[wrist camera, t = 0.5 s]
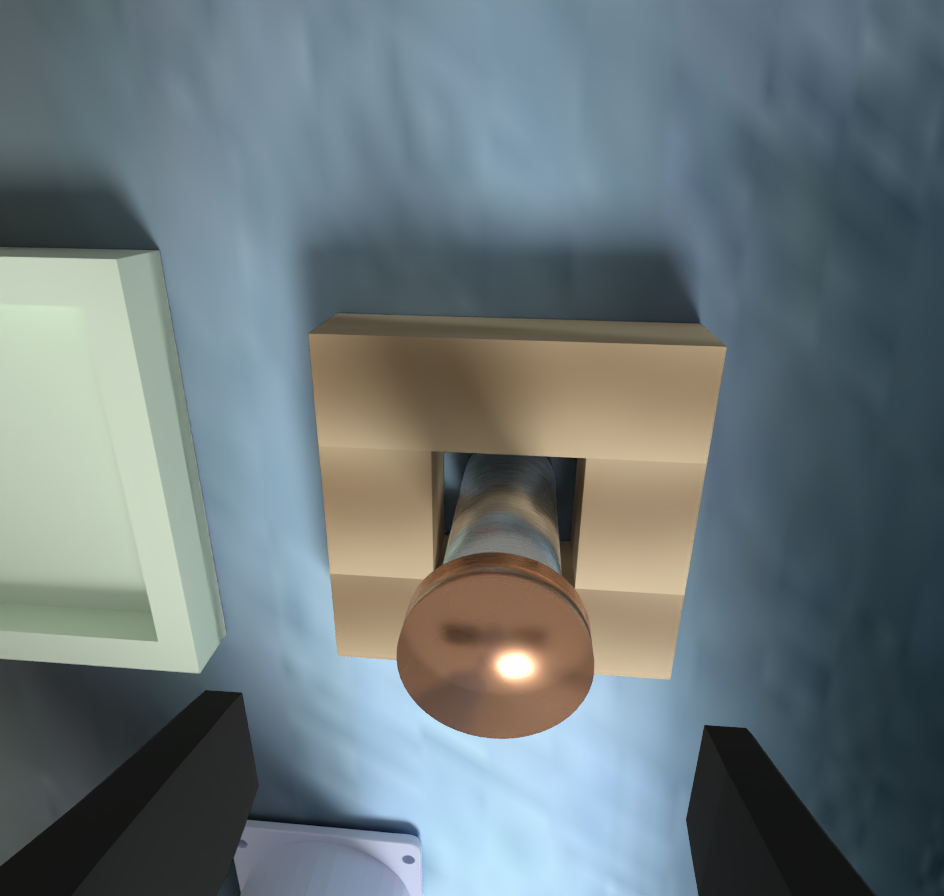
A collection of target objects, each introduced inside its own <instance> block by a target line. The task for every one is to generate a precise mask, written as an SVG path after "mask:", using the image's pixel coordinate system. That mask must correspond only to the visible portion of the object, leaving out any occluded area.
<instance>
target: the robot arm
mask: <svg viewBox="0 0 944 896" xmlns="http://www.w3.org/2000/svg"><path fill="white" fill-rule="evenodd" d="M257 788H258V779H257V774H256V768H255V762H254V757H253V751H252V746H251V740H250V734H249V729H248V723H247V717H246V712H245V706H244V701H243V695H242V693H237V692H223V691H208V690H205V691H204V692H203V693H202V694H201V695H200V696H199V697H197V698H196V699H195V700H194V701H193V702H192V703H190V704H189V705H188V706H187V707H186V708H185V709H184V710H182V711H181V712H180V713H179V714H178V715H177V716H176V717H175V718H174V719H172V720H171V721H170V722H169V723H168V724H167V725H166V726H165V727H163V728H162V729H161V730H160V731H159V732H158V733H157V734H156V735H155V736H153V737H152V738H151V739H150V740H149V741H148V742H147V743H146V744H145V745H143V746H142V747H141V748H140V749H139V750H138V751H137V752H136V753H135V754H133V755H132V756H131V757H130V758H129V759H128V760H127V761H126V762H124V763H123V764H122V765H121V766H120V767H119V768H118V769H116V770H115V771H114V772H113V773H112V774H111V775H110V776H108V777H107V778H106V779H105V780H104V781H103V782H101V783H100V784H99V785H98V786H97V787H96V788H95V789H93V790H92V791H91V792H90V793H89V794H88V795H86V796H85V797H84V798H83V799H82V800H81V801H80V802H78V803H77V804H76V805H75V806H74V807H73V808H71V809H70V810H69V811H68V812H67V813H65V814H64V815H63V816H62V817H61V818H59V819H58V820H57V821H56V822H54V823H53V824H52V825H51V826H50V827H48V828H47V829H46V830H45V831H43V832H42V833H41V834H40V835H38V836H37V837H36V838H35V839H34V840H32V841H31V842H30V843H29V844H27V845H26V846H25V847H24V848H22V849H21V850H20V851H19V852H18V853H16V854H15V855H14V856H13V857H11V858H10V859H9V860H8V861H6V862H5V863H4V864H3V865H1V866H0V896H217V893H218V891H219V889H220V887H221V885H222V882H223V880H224V878H225V876H226V874H227V871H228V869H229V867H230V865H231V862H232V860H233V858H234V862H235V867H236V872H237V876H238V881H239V886H240V891H241V895H240V896H423V870H422V844H421V841H420V840H419V839H418V838H417V837H416V836H414V835H409V834H398V833H387V832H377V831H366V830H355V829H344V828H333V827H322V826H311V825H300V824H290V823H279V822H268V821H257V820H247V819H248V816H249V813H250V810H251V807H252V803H253V800H254V797H255V794H256V791H257ZM686 822H687V828H688V835H689V841H690V847H691V854H692V860H693V866H694V872H695V878H696V883H697V889H698V895H699V896H876V895H875V893H874V892H873V891H872V890H871V889H870V887H869V886H868V885H867V884H866V882H865V881H864V880H863V879H862V877H861V876H860V875H859V874H858V873H857V871H856V870H855V869H854V868H853V866H852V865H851V864H850V863H849V861H848V860H847V859H846V858H845V856H844V855H843V854H842V853H841V851H840V850H839V849H838V848H837V846H836V845H835V844H834V843H833V841H832V840H831V839H830V838H829V836H828V835H827V834H826V833H825V831H824V830H823V829H822V827H821V826H820V825H819V824H818V822H817V821H816V820H815V818H814V817H813V816H812V815H811V813H810V812H809V811H808V809H807V808H806V807H805V805H804V804H803V803H802V801H801V800H800V799H799V797H798V796H797V795H796V793H795V792H794V791H793V789H792V788H791V787H790V785H789V784H788V783H787V781H786V780H785V779H784V777H783V776H782V775H781V773H780V772H779V771H778V769H777V768H776V766H775V765H774V764H773V762H772V761H771V760H770V758H769V757H768V755H767V754H766V753H765V751H764V750H763V749H762V747H761V746H760V745H759V743H758V742H757V740H756V739H755V738H754V736H753V735H752V734H751V733H750V732H749V731H748V729H747V728H738V727H723V726H709V725H704V730H703V736H702V741H701V746H700V751H699V756H698V761H697V767H696V772H695V777H694V782H693V787H692V792H691V797H690V803H689V808H688V813H687V818H686Z"/></svg>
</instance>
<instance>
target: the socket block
mask: <svg viewBox="0 0 944 896" xmlns="http://www.w3.org/2000/svg"><path fill="white" fill-rule="evenodd" d="M308 336H309V347H310V358H311V369H312V380H313V391H314V402H315V413H316V424H317V435H318V446H319V457H320V468H321V478H322V489H323V500H324V511H325V522H326V533H327V544H328V555H329V566H330V577H331V588H332V599H333V610H334V621H335V631H336V642H337V653H338V656H347V657H361V658H375V659H389V660H397V659H396V657H397V645H398V640H399V636H400V633H401V629H402V626H403V622H404V619H405V615H406V612H407V608H408V605H409V603H410V600H411V597H412V595H413V594H414V592H415V590H416V588H417V587H418V586H419V585H420V583H421V582H422V581H423V580H424V579H425V578H426V577H427V576H428V575H429V574H430V573H431V572H433V571H434V570H435V569H437V568H438V567H440V566H441V565H443V562H444V557H445V553H446V549H447V544H448V540H449V536H450V535H445V532H444V452H460V453H482V454H504V455H527V456H549V457H571V458H577V466H576V478H575V491H574V503H573V515H572V527H571V539H570V541H559V543H560V558H561V573H562V577H563V578H565V579H566V580H567V581H568V582H569V583H570V584H571V585H572V586H573V588H574V589H575V590H576V591H577V593H578V594H579V596H580V597H581V599H582V601H583V603H584V605H585V607H586V610H587V613H588V617H589V623H590V630H591V638H592V646H593V654H594V674H601V675H615V676H629V677H643V678H657V679H670V677H671V671H672V665H673V659H674V653H675V647H676V641H677V635H678V630H679V624H680V618H681V612H682V606H683V600H684V594H685V589H686V583H687V577H688V571H689V565H690V559H691V553H692V547H693V542H694V536H695V530H696V524H697V518H698V512H699V506H700V501H701V495H702V489H703V483H704V477H705V471H706V465H707V459H708V454H709V448H710V442H711V436H712V430H713V424H714V418H715V412H716V407H717V401H718V395H719V389H720V383H721V377H722V371H723V366H724V360H725V354H726V348H727V347H726V346H725V345H724V344H723V343H722V342H721V341H720V340H719V339H718V338H716V337H715V336H714V335H713V334H712V333H711V332H710V331H709V330H708V329H706V328H705V327H704V326H703V325H702V324H695V323H660V322H625V321H591V320H556V319H521V318H486V317H452V316H417V315H382V314H347V313H336V314H335V315H334V316H332V317H331V318H329V319H328V320H327V321H325V322H324V323H322V324H321V325H320V326H318V327H317V328H315V329H314V330H313V331H311V332H310V333H308Z"/></svg>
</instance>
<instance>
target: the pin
mask: <svg viewBox="0 0 944 896" xmlns="http://www.w3.org/2000/svg"><path fill="white" fill-rule="evenodd" d="M396 659H397V666H398V671H399V674H400V678H401V680H402V682H403V684H404V687H405V688H406V690H407V692H408V693H409V695H410V696H411V697H412V699H413V700H414V701H415V702H416V703H417V705H418V706H419V707H421V708H422V709H423V710H424V711H425V712H426V713H427V714H429V715H430V716H431V717H433V718H434V719H435V720H437V721H439V722H441V723H442V724H444V725H446V726H448V727H450V728H453V729H455V730H457V731H460V732H463V733H466V734H470V735H474V736H479V737H486V738H499V739H506V738H518V737H524V736H529V735H533V734H536V733H540V732H542V731H545V730H547V729H550V728H552V727H554V726H555V725H557V724H559V723H561V722H562V721H563V720H565V719H566V718H568V717H569V716H570V715H571V714H572V713H573V712H574V711H575V710H576V709H577V708H578V707H579V706H580V705H581V703H582V702H583V701H584V699H585V697H586V696H587V694H588V692H589V689H590V687H591V684H592V681H593V676H594V654H593V646H592V638H591V630H590V623H589V617H588V613H587V610H586V607H585V605H584V603H583V601H582V599H581V597H580V596H579V594H578V593H577V591H576V590H575V589H574V588H573V586H572V585H571V584H570V583H569V582H568V581H567V580H566V579H565V578H563V577H562V573H561V558H560V543H559V529H558V514H557V500H556V485H555V475H554V470H553V467H552V465H551V463H550V461H549V460H548V458H547V457H546V456H527V455H504V454H482V453H474V454H473V455H472V456H471V458H470V459H469V461H468V463H467V465H466V468H465V471H464V476H463V480H462V484H461V488H460V493H459V497H458V501H457V506H456V510H455V514H454V519H453V523H452V527H451V531H450V536H449V540H448V544H447V549H446V553H445V557H444V562H443V565H441V566H440V567H438V568H437V569H435V570H434V571H433V572H431V573H430V574H429V575H428V576H427V577H426V578H425V579H424V580H423V581H422V582H421V583H420V585H419V586H418V587H417V588H416V590H415V592H414V594H413V595H412V597H411V600H410V603H409V605H408V608H407V612H406V615H405V619H404V622H403V626H402V629H401V633H400V636H399V640H398V645H397V657H396Z"/></svg>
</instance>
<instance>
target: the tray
mask: <svg viewBox="0 0 944 896" xmlns="http://www.w3.org/2000/svg"><path fill="white" fill-rule="evenodd" d="M225 635H226V628H225V622H224V616H223V611H222V605H221V599H220V594H219V588H218V582H217V576H216V571H215V565H214V559H213V554H212V548H211V542H210V536H209V531H208V525H207V519H206V514H205V508H204V502H203V496H202V491H201V485H200V479H199V474H198V468H197V462H196V457H195V451H194V445H193V439H192V434H191V428H190V422H189V417H188V411H187V405H186V399H185V394H184V388H183V382H182V377H181V371H180V365H179V359H178V354H177V348H176V342H175V337H174V331H173V325H172V319H171V314H170V308H169V302H168V297H167V291H166V285H165V280H164V274H163V268H162V262H161V257H160V251H159V250H119V249H73V248H26V247H0V659H12V660H26V661H39V662H53V663H66V664H80V665H93V666H107V667H120V668H133V669H147V670H160V671H174V672H187V673H201V671H202V670H203V668H204V667H205V665H206V664H207V662H208V661H209V659H210V658H211V656H212V655H213V653H214V652H215V650H216V649H217V647H218V646H219V644H220V643H221V641H222V640H223V638H224V637H225Z"/></svg>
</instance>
